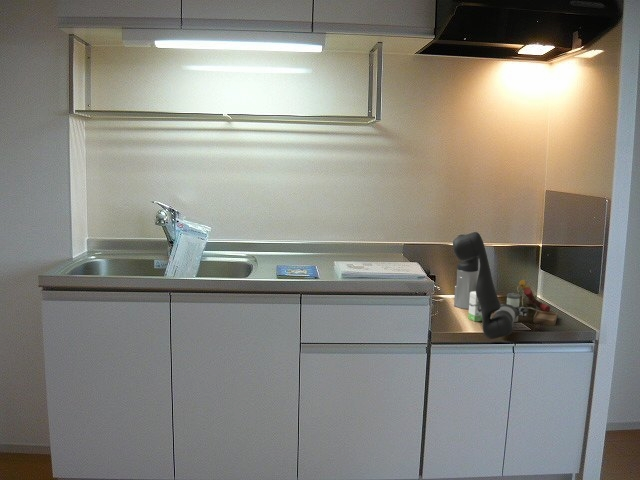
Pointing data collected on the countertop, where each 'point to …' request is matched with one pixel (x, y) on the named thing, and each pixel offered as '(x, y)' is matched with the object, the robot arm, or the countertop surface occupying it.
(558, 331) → the countertop surface
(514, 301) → the canister
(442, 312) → the countertop surface
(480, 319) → the ink box
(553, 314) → the tray
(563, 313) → the countertop surface
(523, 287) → the slingshot
